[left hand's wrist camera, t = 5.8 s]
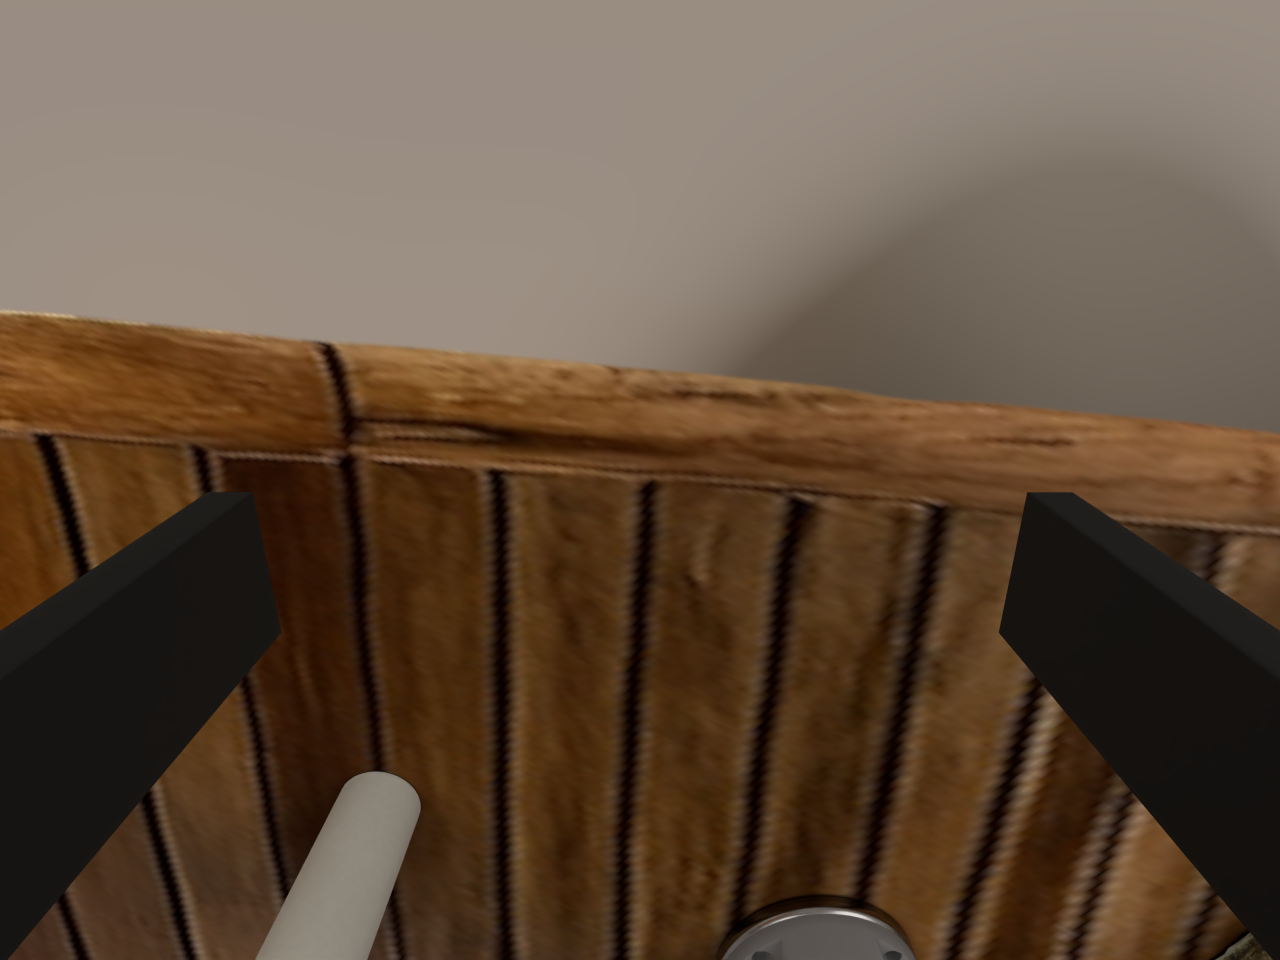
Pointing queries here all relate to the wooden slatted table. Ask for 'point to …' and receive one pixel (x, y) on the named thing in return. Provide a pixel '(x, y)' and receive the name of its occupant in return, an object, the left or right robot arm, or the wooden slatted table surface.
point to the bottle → (347, 873)
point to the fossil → (1246, 950)
